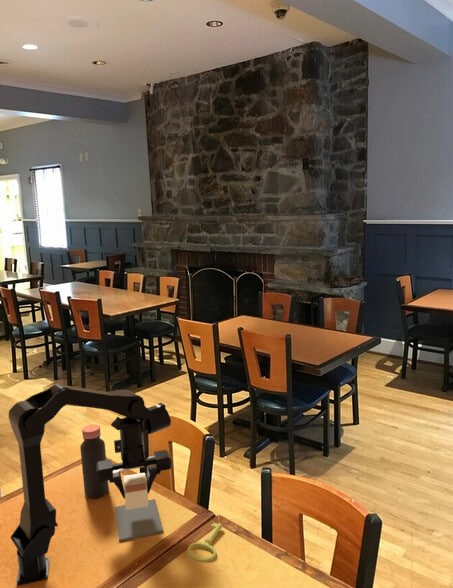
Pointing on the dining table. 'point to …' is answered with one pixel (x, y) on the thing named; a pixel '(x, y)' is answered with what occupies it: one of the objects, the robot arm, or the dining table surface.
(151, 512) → the mat
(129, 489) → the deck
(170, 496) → the dining table surface
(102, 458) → the bottle
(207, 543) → the key
